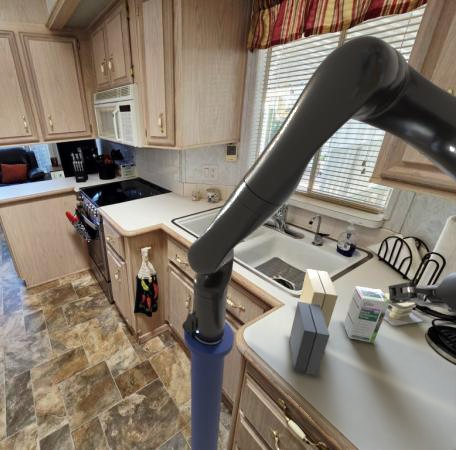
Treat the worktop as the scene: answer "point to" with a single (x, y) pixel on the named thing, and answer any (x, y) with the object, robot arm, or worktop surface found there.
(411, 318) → the stacked layers on plate
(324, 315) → the cream cookbooks
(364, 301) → the syrup box
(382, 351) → the worktop surface
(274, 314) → the worktop surface
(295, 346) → the grey books
